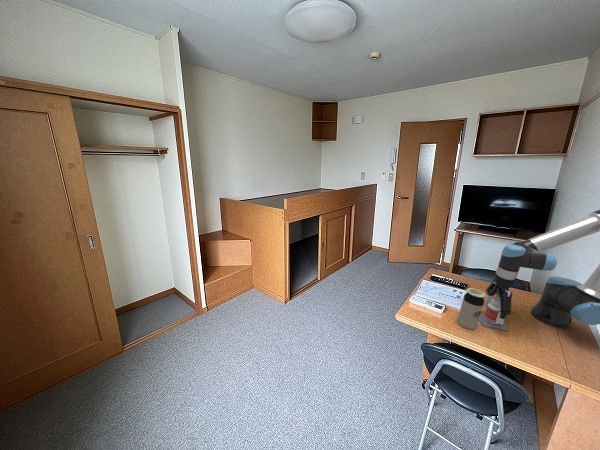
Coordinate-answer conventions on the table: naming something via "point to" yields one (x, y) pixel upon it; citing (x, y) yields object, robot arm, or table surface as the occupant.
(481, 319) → the coaster
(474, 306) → the travel mug
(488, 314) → the pill bottle
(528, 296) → the table surface
